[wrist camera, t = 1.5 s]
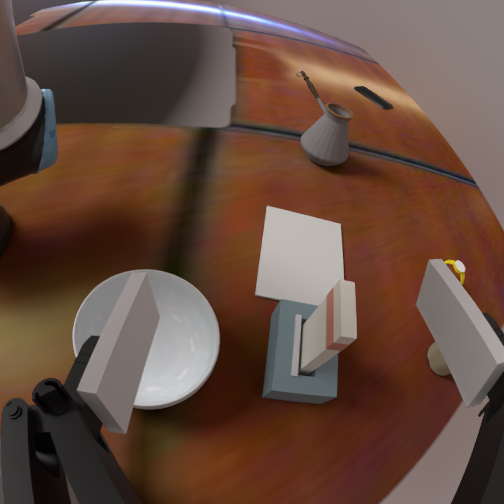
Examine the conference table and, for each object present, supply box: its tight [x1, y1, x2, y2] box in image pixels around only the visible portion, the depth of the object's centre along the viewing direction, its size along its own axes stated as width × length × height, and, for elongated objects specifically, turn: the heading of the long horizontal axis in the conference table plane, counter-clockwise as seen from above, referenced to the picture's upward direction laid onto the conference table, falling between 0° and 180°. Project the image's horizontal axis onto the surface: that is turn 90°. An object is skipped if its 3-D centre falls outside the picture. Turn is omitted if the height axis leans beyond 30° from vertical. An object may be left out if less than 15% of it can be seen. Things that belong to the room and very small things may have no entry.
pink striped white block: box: [298, 279, 357, 376], centre depth 34 cm, size 6×2×15 cm, turn 173°
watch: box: [444, 260, 465, 285], centre depth 53 cm, size 6×3×6 cm, turn 29°
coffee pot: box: [297, 71, 354, 166], centre depth 67 cm, size 21×12×15 cm, turn 28°
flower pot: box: [427, 341, 451, 376], centre depth 41 cm, size 9×9×9 cm
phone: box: [354, 86, 393, 109], centre depth 103 cm, size 8×1×15 cm
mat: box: [255, 206, 344, 306], centre depth 52 cm, size 18×14×1 cm
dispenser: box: [262, 299, 338, 404], centre depth 39 cm, size 12×8×5 cm, turn 173°
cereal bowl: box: [73, 269, 220, 410], centre depth 35 cm, size 17×17×7 cm
